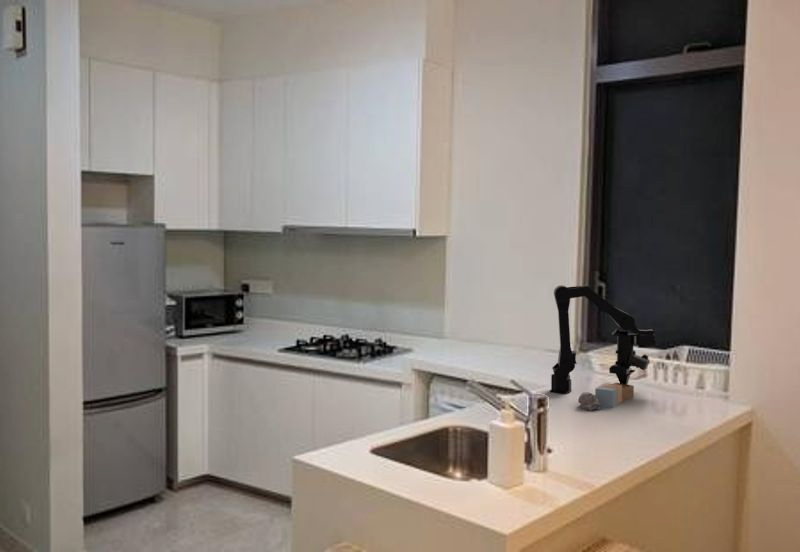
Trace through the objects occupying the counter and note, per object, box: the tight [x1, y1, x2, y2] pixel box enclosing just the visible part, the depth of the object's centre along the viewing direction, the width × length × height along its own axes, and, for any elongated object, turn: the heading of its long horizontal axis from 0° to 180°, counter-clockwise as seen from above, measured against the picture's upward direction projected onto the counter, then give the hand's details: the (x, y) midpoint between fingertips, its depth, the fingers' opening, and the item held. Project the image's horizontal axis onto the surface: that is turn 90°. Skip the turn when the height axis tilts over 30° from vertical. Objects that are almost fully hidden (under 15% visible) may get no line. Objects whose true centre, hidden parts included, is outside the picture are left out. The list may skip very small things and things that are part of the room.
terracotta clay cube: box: [600, 382, 623, 405], centre depth 253 cm, size 6×5×6 cm
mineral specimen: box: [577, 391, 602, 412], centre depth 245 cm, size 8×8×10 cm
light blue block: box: [594, 385, 618, 409], centre depth 248 cm, size 6×5×6 cm
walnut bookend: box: [612, 382, 635, 401], centre depth 260 cm, size 7×9×4 cm
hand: (624, 389), depth 266 cm, fingers closed
